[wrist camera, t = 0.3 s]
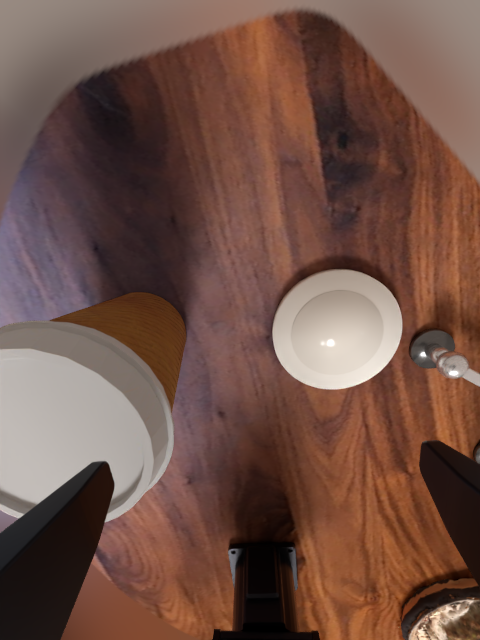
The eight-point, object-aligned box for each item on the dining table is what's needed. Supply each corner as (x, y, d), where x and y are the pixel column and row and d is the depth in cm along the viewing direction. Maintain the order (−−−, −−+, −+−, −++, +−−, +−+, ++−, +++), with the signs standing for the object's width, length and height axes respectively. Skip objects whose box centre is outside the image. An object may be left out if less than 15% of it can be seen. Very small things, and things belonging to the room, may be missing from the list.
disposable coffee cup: (147, 241, 21) (25, 278, 10) (233, 344, 23) (216, 472, 12) (55, 320, 23) (-133, 425, 12) (142, 407, 25) (55, 564, 14)
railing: (507, 464, 26) (545, 501, 23) (398, 469, 27) (419, 507, 23) (542, 320, 22) (595, 340, 18) (410, 330, 22) (438, 351, 19)
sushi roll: (373, 576, 32) (390, 626, 28) (527, 551, 30) (568, 602, 26) (393, 656, 37) (410, 709, 33) (528, 639, 35) (564, 694, 31)
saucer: (393, 379, 24) (398, 385, 23) (275, 387, 24) (276, 394, 24) (401, 262, 21) (407, 265, 20) (268, 274, 21) (268, 277, 21)
